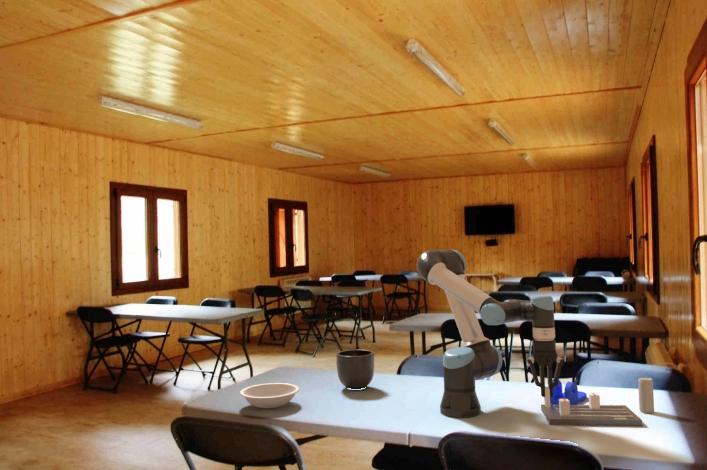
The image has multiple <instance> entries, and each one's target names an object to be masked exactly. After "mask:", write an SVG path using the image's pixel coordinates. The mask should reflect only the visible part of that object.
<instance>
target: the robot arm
mask: <svg viewBox="0 0 707 470" xmlns="http://www.w3.org/2000/svg"><path fill="white" fill-rule="evenodd" d="M466 268H467V261H466V259H465V257H464V255H463V254H462V253H461V252H459V250H456V249H451V248H449V249H448V248H447V249H436V250H435V249H429V250H426V251H424V252H422V253H421V254H420V255H419V257H418V258H417V260H416V271H417V273H418V275H419V276H420V277H421V278H422V279H423V280H424V281H425V282H427V283H428V284H430V285H433V286H435V285H436V286H438V287H439V288H441V289H442V290H444V293H445V296H446V299H447V302H448V304H449V308H450V309H451V313H452V316H453V318H454V322H455V324H456V327H457V328H458V332H459V335H460V337H461V340H462V345H461V346H458V347H452V348H450V349H447V350H446V351H445V352H444V353H443V356H442V357H443V358H442V370H443V373H442V374H443V394H442V397H441V402H440V404H439V407H440V408H439V411H440V413H441V414H443V416H448V417H454V418H471V417H477V416H479V415H480V414H481V413H482V408H481V403H480V400H479V398H478V395H477V392H476V381H479V380H482V379H485V378H486V379H489V378H491V377H493V376H496V374H498V373H499V372H500V371H501V368H502V366H503V357H502V353H501V351H500V350H499V349H498V348H497V347H496V346H494V345H492V343H491V340H490V339H489V338H487V337H485V336H484V333H483V331H482V330H483V329H482V327H481V324H480V322H479V320H478V319H479V318H478V317H477V315H476V313H477V314H479V316H480V319H481V320H482V322H483V324H485V325H487V326H499V325H504V324H508V323H514V322H519V321H520V322H531V323H532V324H531V325H532V337H533V340H532V341H533V342H532V343H533V344H532V345H533V352H532V356H530V357H528V358H526V362H527V363H528V365H529V368H530V371H531V374H532V377H533V381H534V384H535V385H536V387H539V388H540V395H541V397H542V398H544V401H543V402H544V405H545V406H546V407H550V405H551V404H550V397H553V387H555V386H558V382H559V380H560V376H561V371H562V366H563V365H564V363H565V359H564V358H563V357H560V356H559V355H558V353H557V349H556V348H557V345H556V340H555V338H556V329H555V307H554V306H555V305H554V298H553V297H552V296H551V295H548V294H547V295H545V294H539V295H538V294H537V295H532V296H531V297H530V300H525V299H524V300H523V299H522V300H521V299H516V298H515V299H514V298H513V299H507V300H506V299H505V300H504V301H502V302H501V301H499V300H496V299H495V298H493V297H492V296H490V295H489V294H487V293H485V292H484V291H482V290H481V289H480V288H477V287H476V286H475V285H473V284H472V283H470V282H468V281H467V280H466V279H465V278H466V274H465V272H466V270H467V269H466ZM555 361H556V365H555V366H556V367H555V372H554V376H553V364H554V363H555ZM535 362H536V363H537V364H538V366H539V378H538V374H537V371H536V367H535V364H534V363H535ZM545 366H546V373H547V374H545ZM545 375H547V386H546V379H545ZM553 379H554V381H553V382H552V380H553Z"/></svg>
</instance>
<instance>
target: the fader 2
mask: <svg viewBox="0 0 707 470" xmlns="http://www.w3.org/2000/svg"><path fill="white" fill-rule="evenodd" d="M600 398H601V396H600V394H599V393H595V392H591V393H588V405H589V407H590V408H591V409H600V405H601V402H600V400H601V399H600Z"/></svg>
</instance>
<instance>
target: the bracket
mask: <svg viewBox="0 0 707 470" xmlns="http://www.w3.org/2000/svg"><path fill="white" fill-rule="evenodd" d="M553 381H554V378H552V382H553ZM578 389H579V387H578V384H577V383H576V382H572V381H567V382H566V383H565V386H564V391H563V385H562V381H561V380H560V379H559V382H558V386H555V387H553V397H550V405H559V399H562V398H564V399H568V400H569V401H570V405H580V404H581V403H583V402H585V401H587V400H588V397H587V393H586V392H584V391H580V390H578Z"/></svg>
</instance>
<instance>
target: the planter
mask: <svg viewBox="0 0 707 470" xmlns="http://www.w3.org/2000/svg"><path fill="white" fill-rule="evenodd" d="M335 357H336V358H335V360H336V361H335V363H336V372H337V377H338V379H339V381H340V383H341V384H342V385H343V386H344V387H345V389H346V388H351V389H361V388H365V387H368V386H369V385H370V383H372V380H373V378H374V374H375V352H374V351H372V350H369V349H346V350H345V349H344V350H342V351H341V350H340V351H337V352H336V354H335Z"/></svg>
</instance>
